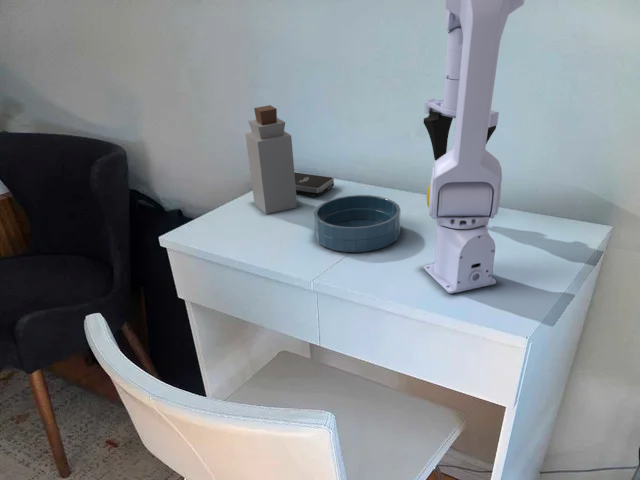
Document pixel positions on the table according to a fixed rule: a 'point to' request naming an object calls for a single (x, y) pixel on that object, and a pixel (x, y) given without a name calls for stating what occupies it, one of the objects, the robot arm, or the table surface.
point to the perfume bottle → (271, 162)
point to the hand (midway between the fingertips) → (455, 163)
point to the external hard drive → (312, 184)
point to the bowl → (357, 223)
